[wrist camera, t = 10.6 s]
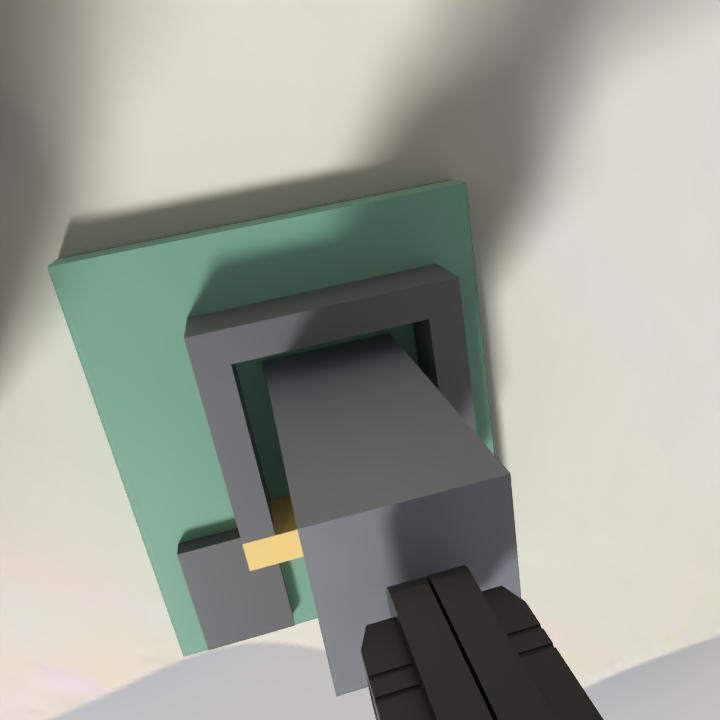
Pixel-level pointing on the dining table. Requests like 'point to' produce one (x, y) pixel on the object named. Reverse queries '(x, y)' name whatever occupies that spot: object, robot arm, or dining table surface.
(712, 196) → the dining table surface
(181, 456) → the board
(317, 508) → the plug
